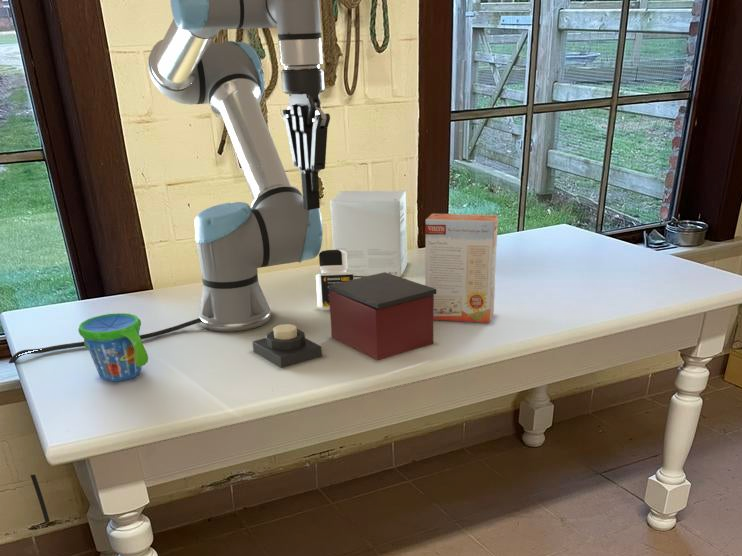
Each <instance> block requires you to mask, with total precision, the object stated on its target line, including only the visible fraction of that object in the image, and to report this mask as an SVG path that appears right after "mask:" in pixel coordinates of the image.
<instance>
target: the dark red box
mask: <svg viewBox="0 0 742 556" xmlns="http://www.w3.org/2000/svg"><path fill="white" fill-rule="evenodd" d="M329 301H330V308H329V316H330V330H331V332H330V333H331V339H333V340H334V341H337V342H338V343H341V344H343V345H345V346H346V347H349V348H351V349H353V350H354V351H356V352H359V353H361V354H363V355H365V356H367V357H369V358H371V359H373V360H375V361H381V360H384V359H388V358H390V357H394V356H397V355H400V354H405V353H408V352H410V351H414V350H418V349H421V348H425V347H428V346H430V345H434V321H435V320H434V295H430V296H426V297H422V298H418V299H414V300H410V301H407V302H403V303H399V304H395V305H391V306H388V307H384V308H380V309H377V308H375V307H372V306H370V305H367V304H364V303H362V302H359V301H357V300H354V299H351V298H349V297H346V296H344V295H341V294H339V293H336V292H333V291H331V290H329Z"/></svg>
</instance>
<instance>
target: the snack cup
mask: <svg viewBox="0 0 742 556" xmlns="http://www.w3.org/2000/svg"><path fill="white" fill-rule="evenodd" d="M141 325H142V321H141V319H140V318H139V317H138V316H137V315H135V314H131V313H125V312H124V313H122V312H121V313H119V312H116V313H115V312H114V313H107V314H101V315H96V316H93V317H90V318H87V319H86V320H84V321H82V322H81V323H80V324H79V325H78V333H79V335H80V336H81V337H82V338H83V342H84V345H85V346H84V347H85V349H86V351H88V352H89V354H90V356H91V359H92V361H93V364H94V366H95V368H96V370H97V373H98V376H99V378H100V379H102V380H104V381H110V382H113V383H115V382H121V381H122V382H123V381H127V380H131V379H134V378H136V377H137V376H138V375H139V374H140V373H141V371H142V367H143V366H145V365H147V363H148V361H149V356H148V353H147V351H146V348H145V345H144V344H143V341H142V340H141V338H140V336H139V335H140V330H141Z"/></svg>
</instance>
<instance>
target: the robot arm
mask: <svg viewBox="0 0 742 556" xmlns="http://www.w3.org/2000/svg"><path fill="white" fill-rule="evenodd" d="M320 1H321V0H170V1H169V2H170V9H171V14H172V18H173V19H172V21H171V23H170V25H169V26H168V29H167V31H166V32H165V35H164V37H163V38H162V39H160V40H158V41H157V42H156V43H155V44H154V45H153V47H152V48H151V51H150V53H149V56H148V60H147V67H148V68H147V69H148V70H147V71H148V74H149V77H150V79H151V81H152V83H153V85H154V86H155V88H156V89H157V90H158V91H159V92H160V93H161V94H162V95H164V96H165V97H166V98H168V99H170V100H172V101H174V102H175V103H178V104H183V105H189V106H190V105H191V106H193V105H206V104H207V105H208V104H209V106H210V109H211V111H212V113H213V114H214V115H215V116H216V117H217V118H219V119H222V121H223V124H224V126H225V129H226V132H227V134H228V137H229V139H230V141H231V142H230V143H231V145H232V148H233V150H234V152H235V156H236V157H237V161H238V163H239V166H240V168H241V171H242V173H243V174H242V175H243V176H244V179H245V181H246V185H247V186H248V189H249V192H250V194H251V197H252V199H253V201H252V203H251V205H249V203H247V202H242V201H235V202H226V203H220V204H217V205H213V206H210V207H208V208H205V209H203V210H202V211H200V212H199V213H198V214H197V215H196V216H195V218H194V241H195V243H196V249H197V255H198V262H199V268H200V275H201V281H202V292H201V298H200V305H199V310H198V318H194V319H192V320H188V321H186V322H183V323H180V324H177V325H174V326H171V327H167V328H164V329H160V330H157V331H153V332H149V333H144V334H139V336H140V338H141V341H142V340H146V339H150V338H154V337H158V336H162V335H165V334H169V333H172V332H175V331H178V330H182V329H184V328H187V327H190V326H194V325H197V324H199V325H200V326H201V327H202V328H204V329H206V330H208V331H209V330H210V331H213V332H221V333H222V332H224V333H234V332H244V331H248V330H252V329H257V328H259V327H261V326H264V325H266V324H267V323H268V322H270V321H271V319H272V315H271V308H270V306H269V303H268V301H267V299H266V296H265V295H264V292H263V290H262V287H261V285H260V282H259V276H258V269H260V268H266V267H267V268H268V267H273V266H280V265H281V266H282V265H286V264H293V263H301V262H305V261H309V260H313V259H315V258H316V257H318V256H319V253H320V252H321V249H322V245H323V235H324V234H323V233H324V232H323V231H324V230H323V227H324V226H323V219H322V218H323V217H322V213H321V210H320V209H321V204H320V203H321V202H320V185H319V184H320V183H319V172H320V171H322V170H325V169H326V160H327V159H326V158H327V145H328V142H327V141H328V129H329V124H330V122H331V121H330V120H331V115H330V113H329V112H327V113H325V112H324V111H323V110H322V102H321V98H320V93H323V92H324V91H325V71H324V70H323V68H322V67H320V66H322V64H323V63H324V58H323V57H324V56H323V44H322V38H323V37H322V20H321V2H320ZM240 29H241V30H243V29H277V42H278V57H279V65H280V66H281V67H283V69H281V71H280V78H281V79H280V80H281V90H282V93H284V94H287V95H288V107H287V108H286V109H282V110H281V116H282V119H283V122H284V124H285V128H286V134H287V139H288V144H289V149H290V155H291V159H292V160H291V161H292V165H293V167H294V168H296V167H297V169H298V171H299V172H300V180H301V188H302V189H301V191H302V192H301V191H300V189H299V188H297V187H295V186H293V185H291V183H290V181H289V178H288V175H287V173H286V170H285V168H284V165H283V162H282V160H281V158H280V155H279V153H278V150H277V148H276V145H275V142H274V140H273V137H272V135H271V132H270V130H269V127H268V124H267V123H266V120H265V118H264V115H263V111H262V109H261V107H260V104H261V101H262V97H263V95H264V91H265V76H264V75H265V74H264V73H263V66H262V63H261V60H260V57H259V56H258V54H257V52H256V50H255V49H254V48H253V47H252V46H251V45H250V44H249V43H247V42H243V41H234V40H227V41H225V42H213V41H214V39H215V38H216V37H217V35H218V34H219V32H220V31H221V30H222V31H223V30H240ZM191 83H192V84H191ZM81 347H85V345H84V341H78V342H77V341H76V342H71V343H63V344H56V345H51V346H46V347H41V348H30V349H29V348H27V349H22V350H19V351H18V352H16V353H14V354H13V355H12V357H11V358H10V359H9V361H8V364H14V363H16V361H17V360H18V359H19V358H21V357H22V356H25V355H36V354H37V355H38V354H44V353H49V352H54V351H60V350H67V349H73V348H81ZM40 349H42V350H40ZM33 350H38V351H34V352H31V353H27V354H23V355H20V356H18V355H19V354H22V353H25V352H28V351H33ZM16 356H17V357H16ZM30 478H31V481H32V484H33V487H34V490H35V493H36V497H37V499H38V502H39V506H40V509H41V512H42V516H43V519H44V522H45V523H46V524H47V523H50V517H49V514H48V510H47V506H46V503H45V500H44V496H43V494H42V491H41V487H40V485H39V482H38V479H37V475H36V474H30Z"/></svg>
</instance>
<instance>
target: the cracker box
mask: <svg viewBox="0 0 742 556" xmlns="http://www.w3.org/2000/svg"><path fill="white" fill-rule="evenodd" d="M498 221H499V215H497V214H471V213H470V214H467V213H466V214H465V213H431V214H429V216H428V217H427V218H426V219H425V251H424V252H425V254H424V255H425V257H424V259H425V261H424V264H425V265H424V267H425V269H424V270H425V276H424V277H425V278H424V279H425V281H424V284H425V286H428V287H431V288H434V289H436V294H433V295H434V320H433V321H447V322H448V321H451V322H464V323H465V322H466V323H480V324H490V323H491V320H492V319H493V317H494V314H495V313H494V312H495V295H496V293H495V292H496V270H497V268H496V267H497V252H498V251H497V247H498V224H499V223H498Z"/></svg>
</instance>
